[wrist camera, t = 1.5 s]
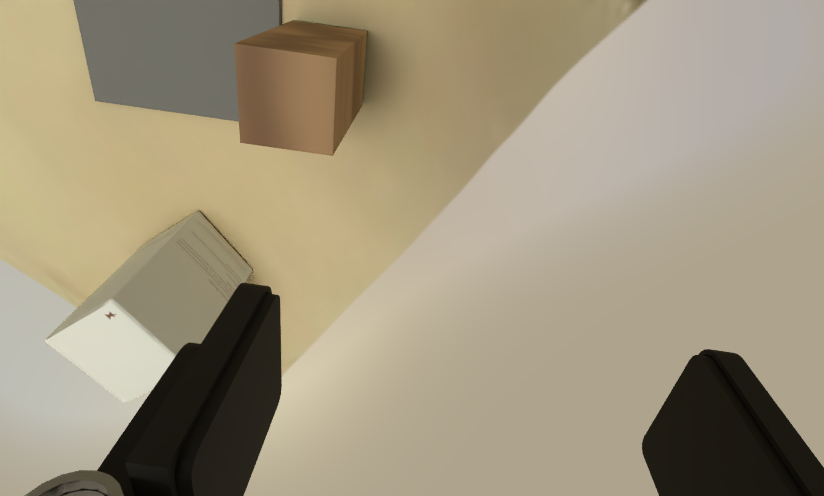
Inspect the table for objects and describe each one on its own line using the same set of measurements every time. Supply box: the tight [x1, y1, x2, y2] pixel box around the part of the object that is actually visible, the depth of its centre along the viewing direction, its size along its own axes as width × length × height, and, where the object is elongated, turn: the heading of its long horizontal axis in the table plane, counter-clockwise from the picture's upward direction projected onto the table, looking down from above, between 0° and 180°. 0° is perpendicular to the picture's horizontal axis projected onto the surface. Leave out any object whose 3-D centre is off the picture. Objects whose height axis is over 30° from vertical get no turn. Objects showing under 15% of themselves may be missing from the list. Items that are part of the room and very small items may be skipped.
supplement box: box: [45, 211, 252, 403], centre depth 38 cm, size 7×7×13 cm
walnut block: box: [234, 20, 368, 156], centre depth 29 cm, size 5×5×11 cm
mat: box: [74, 0, 282, 121], centre depth 34 cm, size 14×10×1 cm
